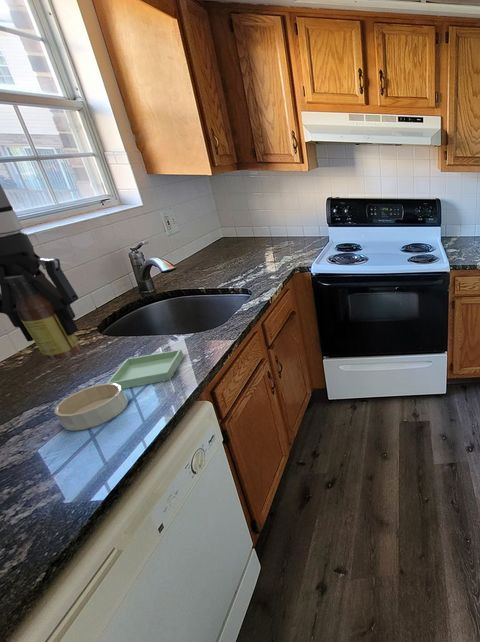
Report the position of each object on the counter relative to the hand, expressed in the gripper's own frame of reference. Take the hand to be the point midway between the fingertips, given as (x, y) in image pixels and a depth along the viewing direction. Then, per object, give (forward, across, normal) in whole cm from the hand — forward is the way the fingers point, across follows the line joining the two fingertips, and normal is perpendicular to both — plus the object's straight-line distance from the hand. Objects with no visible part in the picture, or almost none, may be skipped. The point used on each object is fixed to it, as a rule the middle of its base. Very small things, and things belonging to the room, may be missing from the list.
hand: (53, 335), depth 82 cm
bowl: (+22, 0, 0) cm, 22 cm away
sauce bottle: (+5, 0, 0) cm, 5 cm away
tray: (+22, -6, -16) cm, 28 cm away
